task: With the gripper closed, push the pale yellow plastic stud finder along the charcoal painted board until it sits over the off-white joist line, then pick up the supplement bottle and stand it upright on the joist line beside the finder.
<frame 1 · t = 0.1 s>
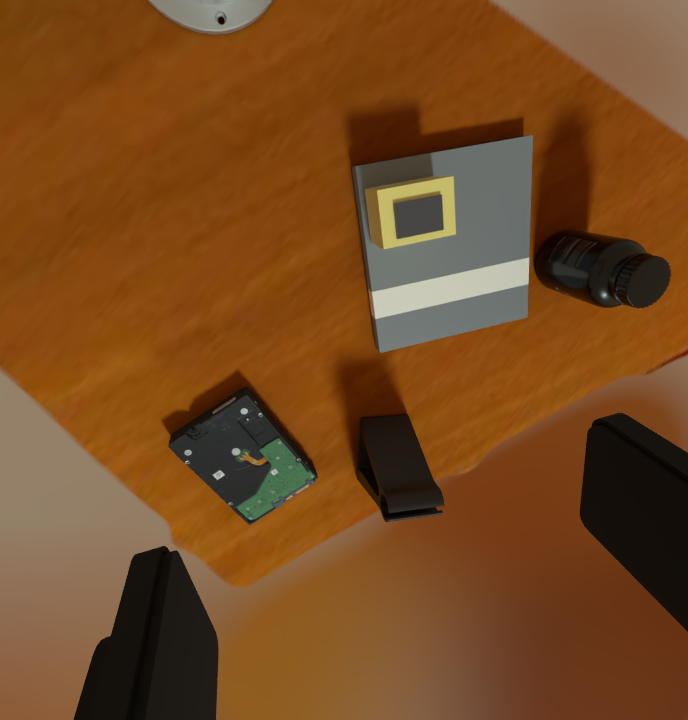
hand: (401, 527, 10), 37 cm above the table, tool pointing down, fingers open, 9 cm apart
stud finder: (410, 211, 40), point 4 cm above the table, slide at 0.0 cm
disk drive: (247, 450, 51), on the table
supplement bottle: (558, 259, 50), on the table
phone stand: (380, 445, 55), on the table
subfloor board: (445, 248, 46), on the table
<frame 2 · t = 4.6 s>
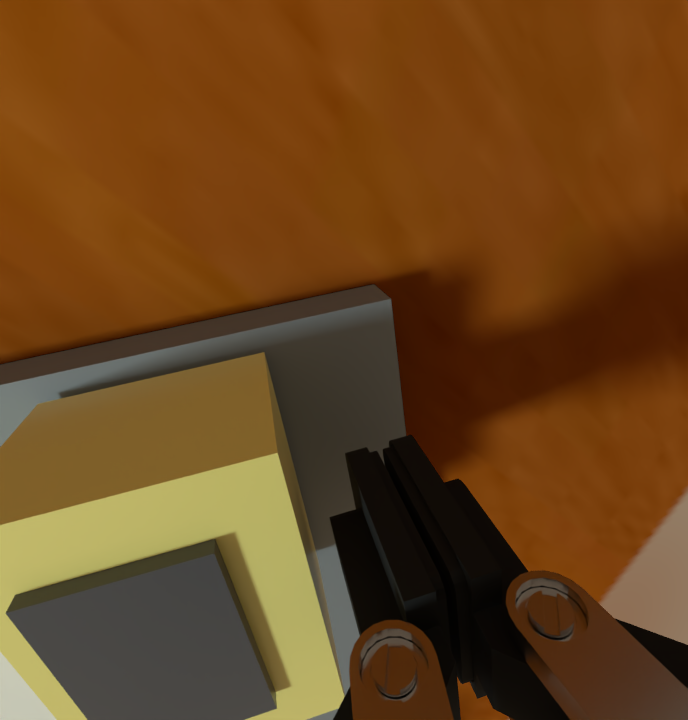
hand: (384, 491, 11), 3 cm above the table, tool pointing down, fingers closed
stud finder: (192, 561, 9), point 4 cm above the table, slide at 1.3 cm, touching gripper
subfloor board: (137, 600, 15), on the table
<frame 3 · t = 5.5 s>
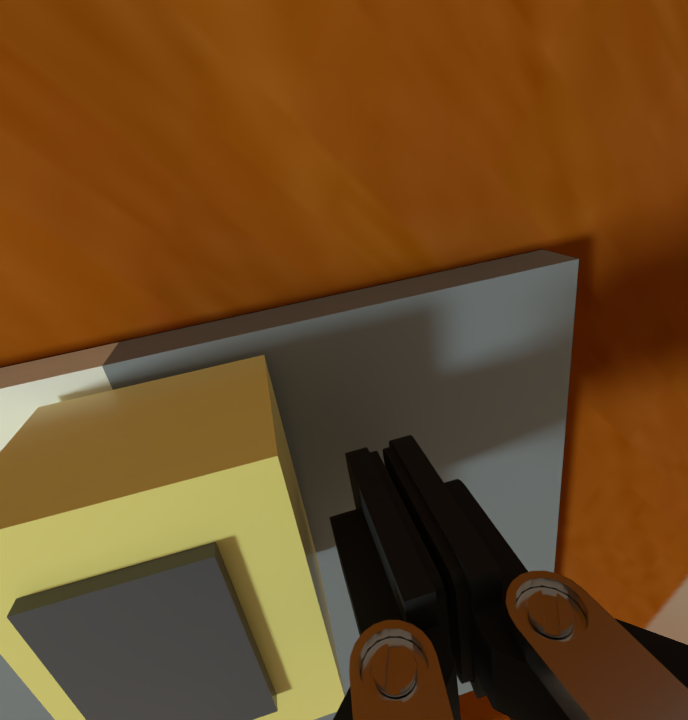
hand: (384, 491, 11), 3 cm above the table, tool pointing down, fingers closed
stud finder: (193, 563, 9), point 4 cm above the table, slide at 6.5 cm, touching gripper
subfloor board: (288, 557, 15), on the table
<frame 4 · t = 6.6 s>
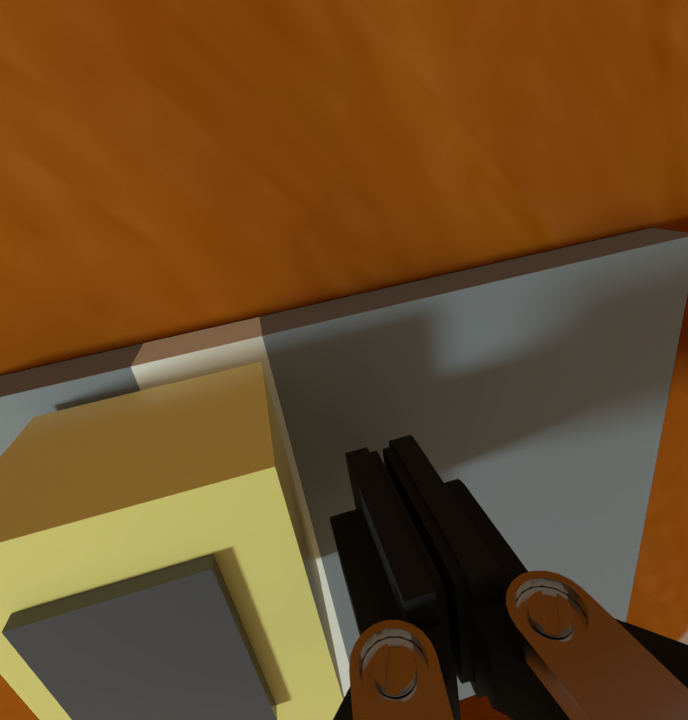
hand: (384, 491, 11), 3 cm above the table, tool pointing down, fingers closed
stud finder: (191, 573, 9), point 4 cm above the table, slide at 10.2 cm, touching gripper
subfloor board: (388, 532, 16), on the table
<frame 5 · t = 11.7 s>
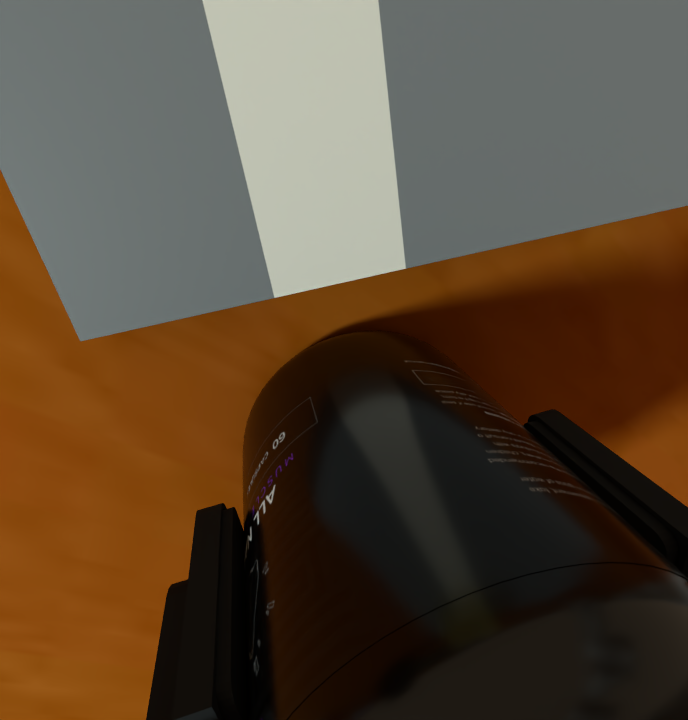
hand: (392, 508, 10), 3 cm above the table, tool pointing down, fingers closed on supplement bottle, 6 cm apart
supplement bottle: (356, 428, 13), on the table, touching gripper
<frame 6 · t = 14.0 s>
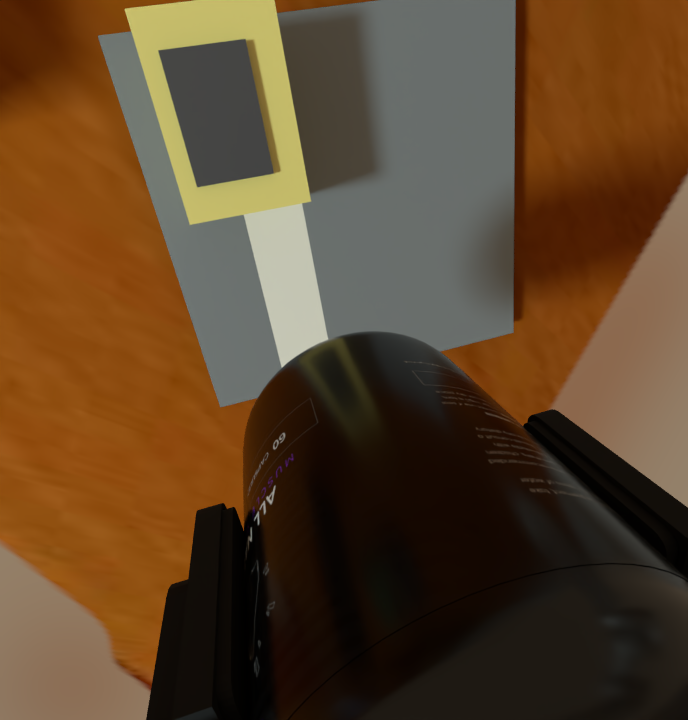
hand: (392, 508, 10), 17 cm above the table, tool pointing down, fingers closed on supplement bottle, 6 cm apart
stud finder: (228, 121, 18), point 4 cm above the table, slide at 10.2 cm
supplement bottle: (356, 429, 13), point 14 cm above the table, touching gripper
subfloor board: (345, 215, 24), on the table
when the fingers open (6 cm above the table, at t = 16.8 s): supplement bottle stays where it is, resting on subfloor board.
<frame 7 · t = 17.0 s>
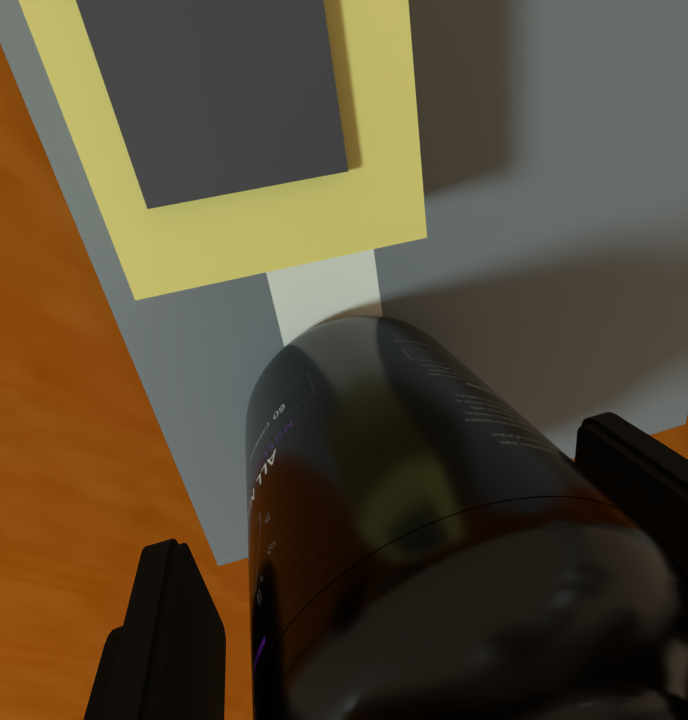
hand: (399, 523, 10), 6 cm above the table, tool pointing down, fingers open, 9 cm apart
stud finder: (232, 46, 7), point 4 cm above the table, slide at 10.2 cm
supplement bottle: (351, 410, 14), point 1 cm above the table, touching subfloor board
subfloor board: (437, 243, 14), on the table
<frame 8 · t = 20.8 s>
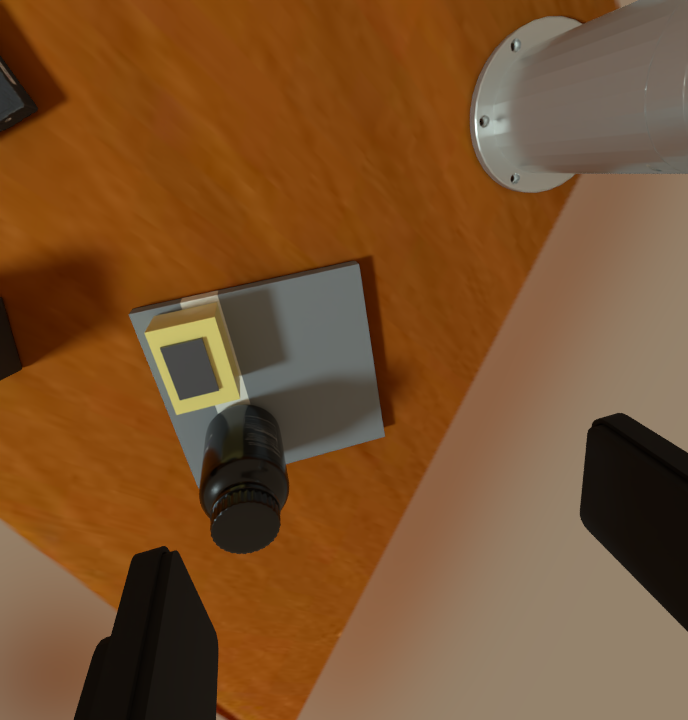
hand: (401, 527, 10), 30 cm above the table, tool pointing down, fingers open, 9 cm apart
stud finder: (197, 358, 34), point 4 cm above the table, slide at 10.2 cm
supplement bottle: (243, 432, 41), point 1 cm above the table, touching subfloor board
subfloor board: (272, 376, 40), on the table
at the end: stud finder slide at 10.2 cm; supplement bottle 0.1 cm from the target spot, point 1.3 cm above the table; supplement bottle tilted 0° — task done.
